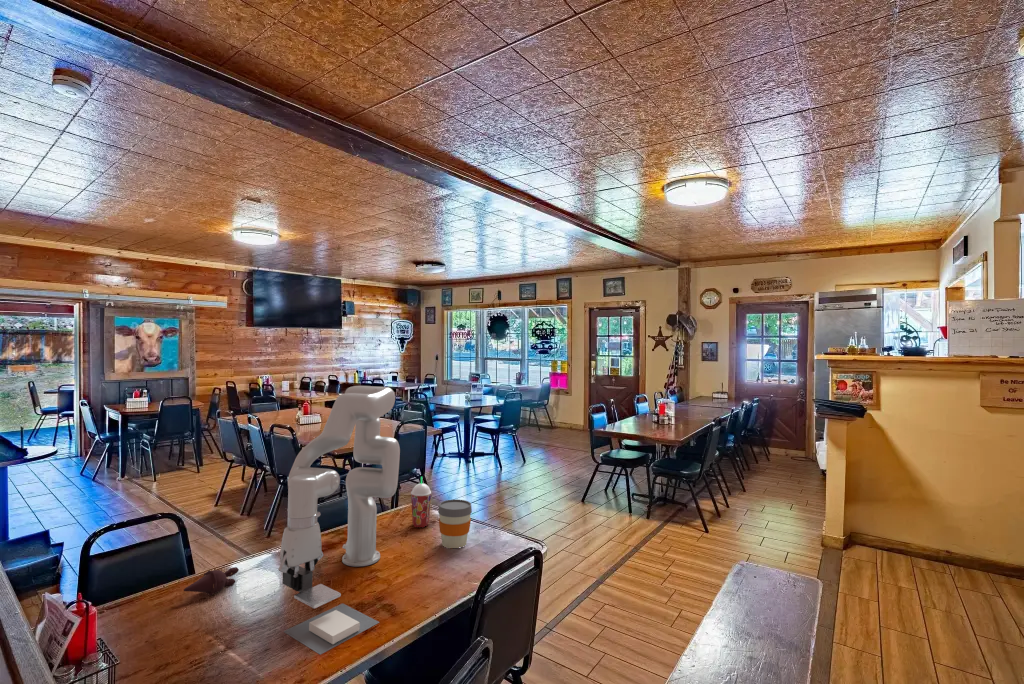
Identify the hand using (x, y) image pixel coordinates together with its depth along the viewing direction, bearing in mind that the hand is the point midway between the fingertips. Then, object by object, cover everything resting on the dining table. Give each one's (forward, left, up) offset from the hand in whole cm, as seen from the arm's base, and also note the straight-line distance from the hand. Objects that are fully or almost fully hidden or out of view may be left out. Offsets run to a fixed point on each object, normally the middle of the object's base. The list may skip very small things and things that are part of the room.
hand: (301, 586), depth 142 cm
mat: (+13, +1, -7) cm, 15 cm away
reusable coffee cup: (0, +63, -8) cm, 63 cm away
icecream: (-31, -10, -8) cm, 33 cm away
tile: (+10, 0, -6) cm, 12 cm away
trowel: (+3, 0, -1) cm, 3 cm away
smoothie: (-24, +69, -8) cm, 73 cm away
